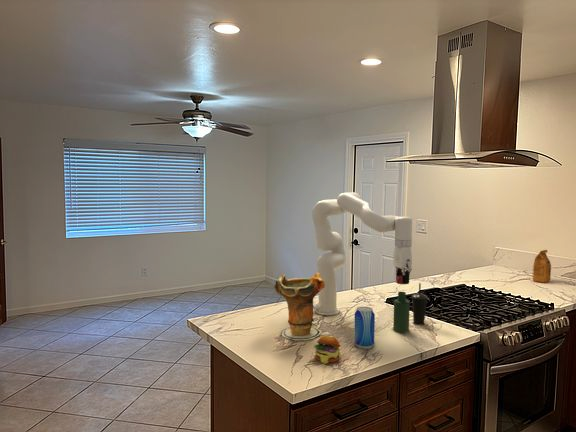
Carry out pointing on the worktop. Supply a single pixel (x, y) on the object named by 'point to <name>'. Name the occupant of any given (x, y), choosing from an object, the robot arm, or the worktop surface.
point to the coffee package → (542, 267)
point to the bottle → (401, 313)
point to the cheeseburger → (327, 349)
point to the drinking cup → (419, 307)
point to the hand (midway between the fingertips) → (402, 281)
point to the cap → (399, 279)
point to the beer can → (364, 327)
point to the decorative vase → (300, 305)
